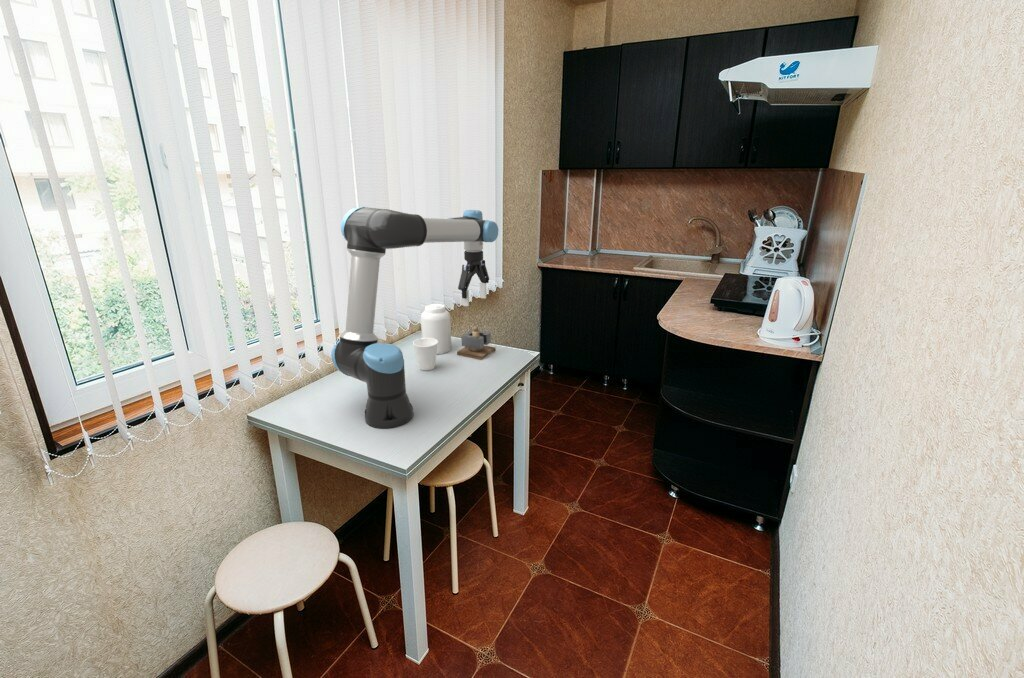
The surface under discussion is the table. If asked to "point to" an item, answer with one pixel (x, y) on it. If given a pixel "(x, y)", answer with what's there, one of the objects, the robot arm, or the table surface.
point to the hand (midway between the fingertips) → (474, 301)
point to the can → (437, 326)
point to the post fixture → (474, 352)
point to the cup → (425, 352)
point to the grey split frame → (476, 340)
